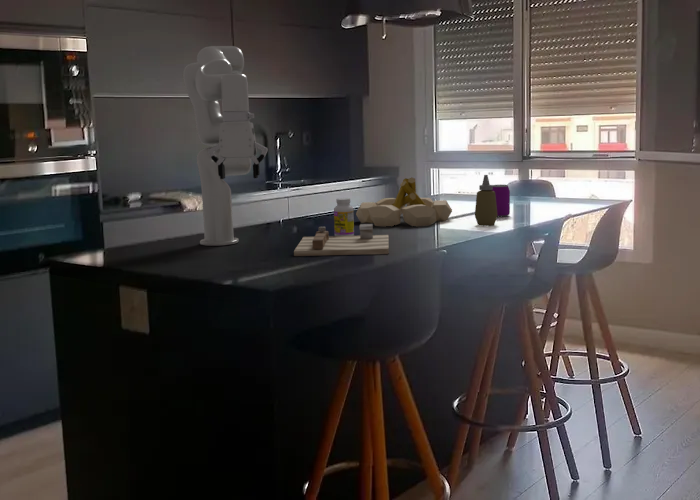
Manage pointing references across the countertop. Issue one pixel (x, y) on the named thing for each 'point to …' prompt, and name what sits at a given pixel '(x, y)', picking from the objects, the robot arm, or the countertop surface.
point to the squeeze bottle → (486, 204)
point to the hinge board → (346, 244)
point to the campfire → (404, 208)
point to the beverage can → (502, 200)
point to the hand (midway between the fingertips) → (239, 178)
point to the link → (320, 239)
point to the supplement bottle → (343, 218)
